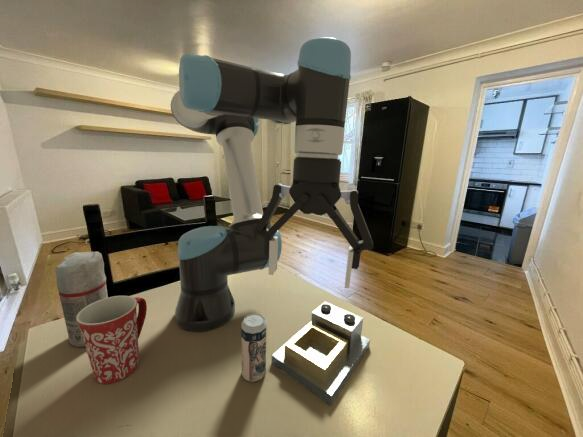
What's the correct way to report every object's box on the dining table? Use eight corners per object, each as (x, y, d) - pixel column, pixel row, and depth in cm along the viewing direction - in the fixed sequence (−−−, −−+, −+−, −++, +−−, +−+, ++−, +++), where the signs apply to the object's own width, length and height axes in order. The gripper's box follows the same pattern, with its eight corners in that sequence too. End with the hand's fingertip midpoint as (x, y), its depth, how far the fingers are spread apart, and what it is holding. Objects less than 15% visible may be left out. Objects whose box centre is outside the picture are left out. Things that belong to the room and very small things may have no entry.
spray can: (118, 336, 57) (106, 255, 52) (71, 355, 51) (53, 266, 47) (109, 319, 63) (98, 245, 58) (66, 335, 57) (50, 254, 52)
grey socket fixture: (271, 363, 51) (272, 330, 49) (317, 321, 65) (319, 295, 63) (330, 405, 43) (334, 367, 41) (369, 347, 57) (373, 317, 55)
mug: (115, 394, 43) (105, 328, 40) (75, 383, 45) (62, 318, 42) (166, 344, 55) (161, 290, 52) (132, 336, 57) (126, 284, 54)
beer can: (255, 388, 45) (255, 332, 43) (236, 375, 48) (235, 322, 45) (270, 370, 49) (272, 317, 47) (252, 359, 52) (252, 309, 49)
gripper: (234, 152, 38) (235, 275, 44) (406, 161, 32) (383, 302, 38) (253, 153, 45) (252, 259, 51) (398, 160, 39) (379, 279, 45)
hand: (308, 277), depth 44 cm, fingers open, 13 cm apart
